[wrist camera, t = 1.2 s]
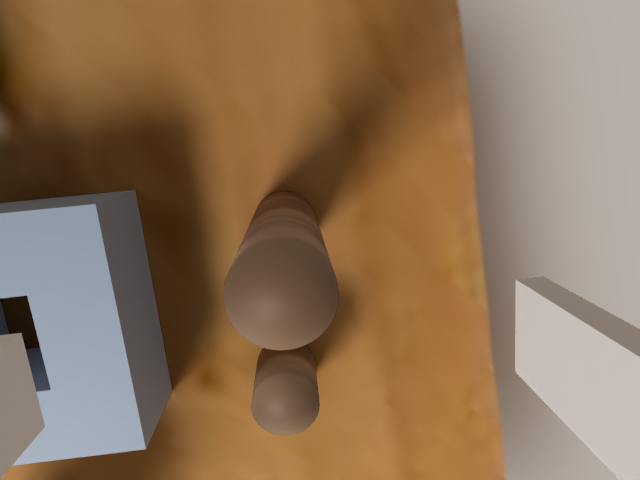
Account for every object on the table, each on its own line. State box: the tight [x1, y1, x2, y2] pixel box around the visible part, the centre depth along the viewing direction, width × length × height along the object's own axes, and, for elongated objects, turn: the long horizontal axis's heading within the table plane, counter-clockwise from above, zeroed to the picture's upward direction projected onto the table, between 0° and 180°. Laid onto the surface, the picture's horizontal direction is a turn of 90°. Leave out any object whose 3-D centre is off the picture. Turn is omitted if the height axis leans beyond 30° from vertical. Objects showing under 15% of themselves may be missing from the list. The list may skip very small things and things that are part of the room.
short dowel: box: [251, 345, 320, 436], centre depth 29 cm, size 4×4×5 cm
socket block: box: [0, 190, 172, 466], centre depth 27 cm, size 14×14×6 cm
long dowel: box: [223, 191, 339, 350], centre depth 23 cm, size 4×4×14 cm
